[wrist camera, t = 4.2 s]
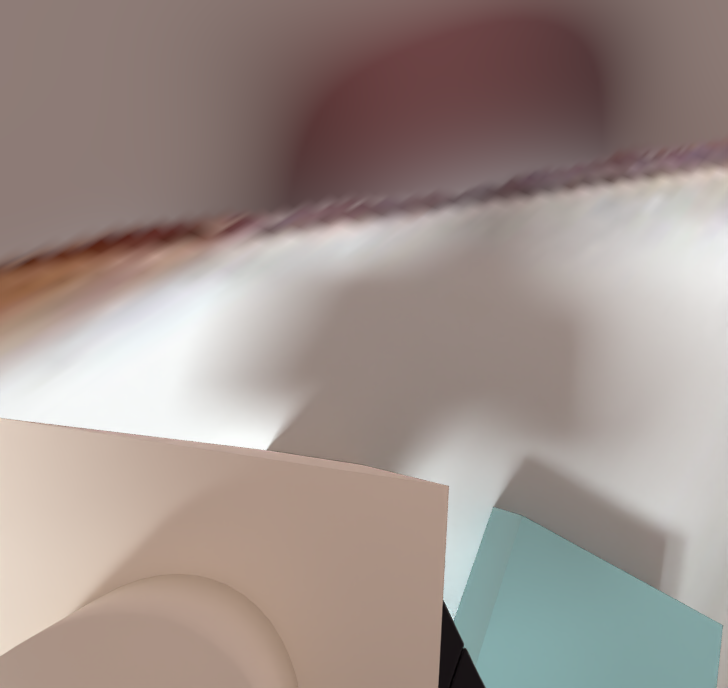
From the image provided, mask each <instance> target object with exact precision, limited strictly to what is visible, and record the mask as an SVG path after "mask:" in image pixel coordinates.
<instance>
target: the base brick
mask: <svg viewBox="0 0 728 688" xmlns="http://www.w3.org/2000/svg"><path fill="white" fill-rule="evenodd" d="M454 623H455V625H456V628H457V630H458V632H459V634H460V636H461V638H462V640H463V642H464V647H463V648H466V649H467V650H468V652H469V654H470V656H471V659H472V661H473V663H474V665H475V667H476V669H477V671H478V673H479V675H480V677H481V679H482V681H483V683H484V685H485V687H486V688H716V687H717V678H718V668H719V658H720V649H721V639H722V629H723V625H721V624H719V623H718V622H716V621H714V620H712V619H710V618H708V617H707V616H705V615H703V614H701V613H699V612H698V611H696V610H694V609H692V608H690V607H688V606H687V605H685V604H683V603H681V602H679V601H677V600H676V599H674V598H672V597H670V596H668V595H667V594H665V593H663V592H661V591H659V590H657V589H656V588H654V587H652V586H650V585H648V584H646V583H645V582H643V581H641V580H639V579H637V578H636V577H634V576H632V575H630V574H628V573H626V572H625V571H623V570H621V569H619V568H617V567H615V566H614V565H612V564H610V563H608V562H606V561H605V560H603V559H601V558H599V557H597V556H595V555H594V554H592V553H590V552H588V551H586V550H584V549H583V548H581V547H579V546H577V545H575V544H574V543H572V542H570V541H568V540H566V539H564V538H563V537H561V536H559V535H557V534H555V533H553V532H552V531H550V530H548V529H546V528H544V527H543V526H541V525H539V524H537V523H535V522H533V521H532V520H530V519H528V518H526V517H524V516H522V515H519V514H516V513H512V512H509V511H506V510H502V509H499V508H495V507H493V509H492V512H491V515H490V518H489V521H488V524H487V526H486V529H485V532H484V535H483V538H482V541H481V544H480V547H479V550H478V553H477V555H476V558H475V561H474V564H473V567H472V570H471V573H470V576H469V579H468V581H467V584H466V587H465V590H464V593H463V596H462V599H461V602H460V605H459V608H458V610H457V613H456V616H455V619H454Z"/></svg>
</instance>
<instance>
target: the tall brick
mask: <svg viewBox="0 0 728 688" xmlns="http://www.w3.org/2000/svg"><path fill="white" fill-rule="evenodd" d="M448 494H449V486H446V485H442V484H438V483H434V482H430V481H426V480H422V479H418V478H414V477H410V476H406V475H401V474H397V473H393V472H389V471H385V470H381V469H377V468H373V467H369V466H365V465H360V464H353V463H347V462H340V461H333V460H327V459H320V458H314V457H307V456H301V455H294V454H287V453H281V452H274V451H268V450H260V449H251V448H243V447H235V446H227V445H218V444H210V443H202V442H194V441H185V440H177V439H169V438H160V437H152V436H144V435H136V434H127V433H119V432H111V431H103V430H94V429H86V428H78V427H69V426H61V425H53V424H45V423H36V422H28V421H20V420H12V419H3V418H0V688H438V681H439V663H440V644H441V625H442V606H443V588H444V569H445V550H446V531H447V513H448Z"/></svg>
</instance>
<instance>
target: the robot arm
mask: <svg viewBox="0 0 728 688" xmlns="http://www.w3.org/2000/svg"><path fill="white" fill-rule="evenodd" d="M463 647H464V642H463V640H462V638H461V636H460V634H459V632H458V630H457V628H456V625H455V623H454V621H453V619H452V617H451V615H450V613H449V611H448V609H447V607H446V605H445V602H444V600H443V606H442V625H441V644H440V663H439V681H438V688H486V687H485V685H484V683H483V681H482V679H481V677H480V675H479V673H478V671H477V669H476V667H475V665H474V663H473V661H472V659H471V656H470V654H469V652H468V650H467V649H466V648H463Z"/></svg>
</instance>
